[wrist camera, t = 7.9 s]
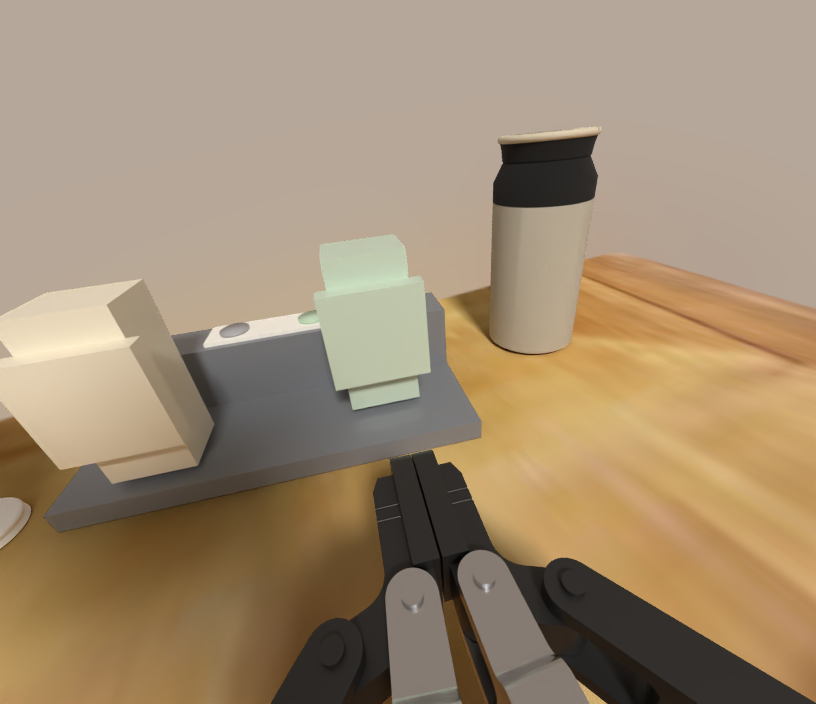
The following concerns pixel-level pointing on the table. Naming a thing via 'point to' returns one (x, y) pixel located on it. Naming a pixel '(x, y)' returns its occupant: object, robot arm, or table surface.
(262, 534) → the table surface
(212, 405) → the console
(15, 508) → the chess piece
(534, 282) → the travel mug
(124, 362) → the sand key
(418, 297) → the sage key
